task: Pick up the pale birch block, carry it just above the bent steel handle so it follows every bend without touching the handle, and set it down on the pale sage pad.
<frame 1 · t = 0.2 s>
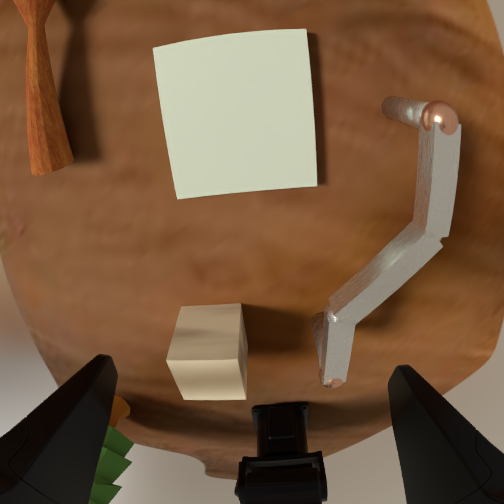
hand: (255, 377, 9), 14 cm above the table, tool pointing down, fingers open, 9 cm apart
steel handle: (349, 233, 22), on the table
decorative tree: (110, 403, 35), on the table
sage pad: (237, 112, 18), on the table
birch block: (215, 326, 27), on the table
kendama: (57, 33, 15), on the table
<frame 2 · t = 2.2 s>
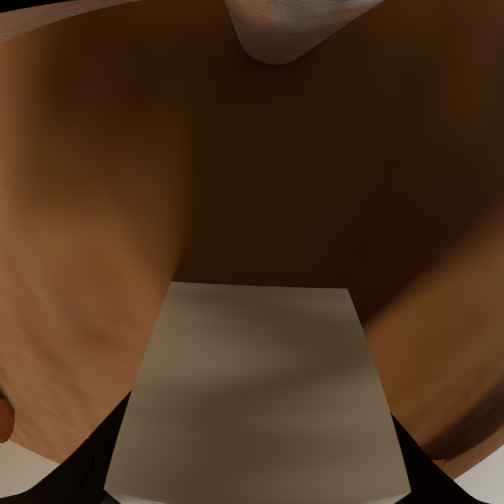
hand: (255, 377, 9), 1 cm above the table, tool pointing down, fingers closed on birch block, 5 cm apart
birch block: (255, 348, 10), on the table, touching gripper
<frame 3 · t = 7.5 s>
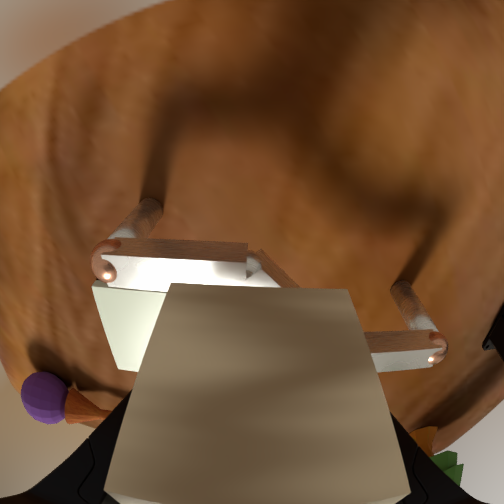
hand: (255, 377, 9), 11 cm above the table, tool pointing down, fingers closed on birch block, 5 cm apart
steel handle: (295, 260, 20), on the table
decorative tree: (418, 436, 34), on the table
sage pad: (166, 332, 23), on the table
birch block: (255, 348, 10), point 10 cm above the table, touching gripper
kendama: (110, 396, 29), on the table
when the fingers open (3 cm above the table, at t = 12.7 s): birch block stays where it is, resting on sage pad.
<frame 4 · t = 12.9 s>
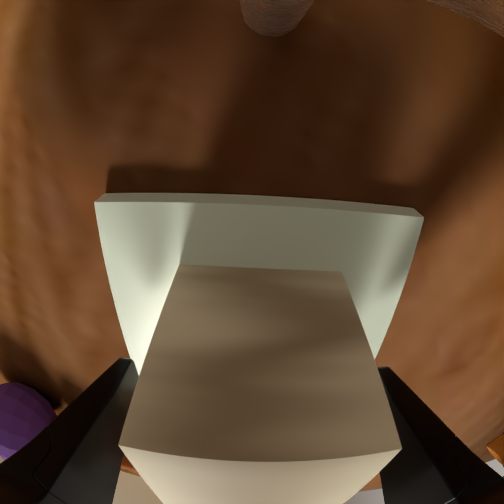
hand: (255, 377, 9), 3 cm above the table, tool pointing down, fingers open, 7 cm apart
sage pad: (254, 313, 11), on the table
birch block: (256, 329, 11), point 1 cm above the table, touching sage pad
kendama: (125, 426, 17), on the table
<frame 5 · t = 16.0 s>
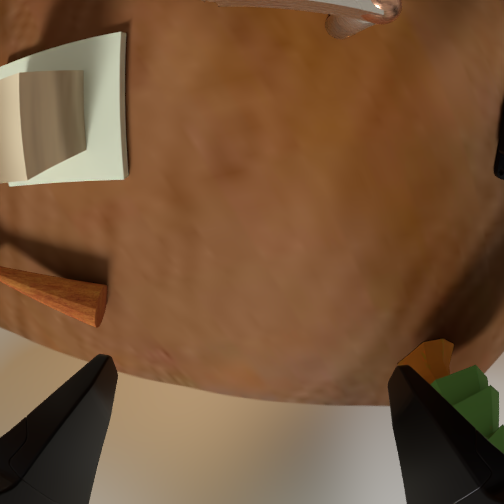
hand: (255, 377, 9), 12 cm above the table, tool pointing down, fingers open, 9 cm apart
decorative tree: (428, 359, 26), on the table
sage pad: (58, 113, 16), on the table
birch block: (52, 115, 15), point 1 cm above the table, touching sage pad
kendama: (15, 257, 22), on the table
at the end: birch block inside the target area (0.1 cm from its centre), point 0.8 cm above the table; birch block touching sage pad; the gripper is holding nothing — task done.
